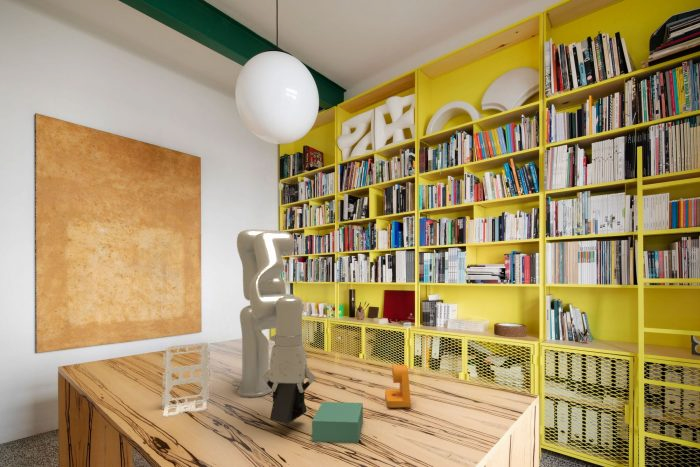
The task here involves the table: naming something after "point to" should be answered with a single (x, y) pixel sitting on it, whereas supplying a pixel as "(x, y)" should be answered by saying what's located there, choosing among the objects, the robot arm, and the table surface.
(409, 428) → the table surface
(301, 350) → the robot arm
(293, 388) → the phone stand
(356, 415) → the green block
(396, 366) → the bracket
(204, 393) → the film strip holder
